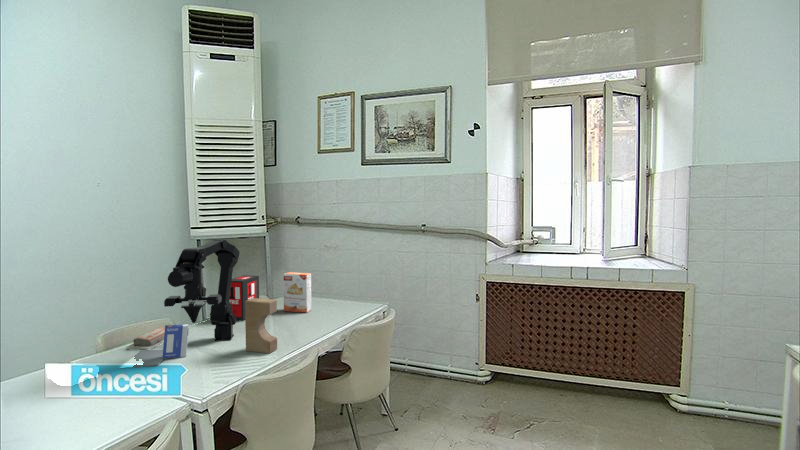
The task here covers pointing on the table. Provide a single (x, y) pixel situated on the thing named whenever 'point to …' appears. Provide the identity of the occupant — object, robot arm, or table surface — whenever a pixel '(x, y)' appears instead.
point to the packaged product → (149, 339)
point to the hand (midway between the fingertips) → (194, 322)
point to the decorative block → (259, 325)
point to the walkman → (175, 341)
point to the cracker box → (297, 292)
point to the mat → (149, 358)
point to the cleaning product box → (243, 293)
